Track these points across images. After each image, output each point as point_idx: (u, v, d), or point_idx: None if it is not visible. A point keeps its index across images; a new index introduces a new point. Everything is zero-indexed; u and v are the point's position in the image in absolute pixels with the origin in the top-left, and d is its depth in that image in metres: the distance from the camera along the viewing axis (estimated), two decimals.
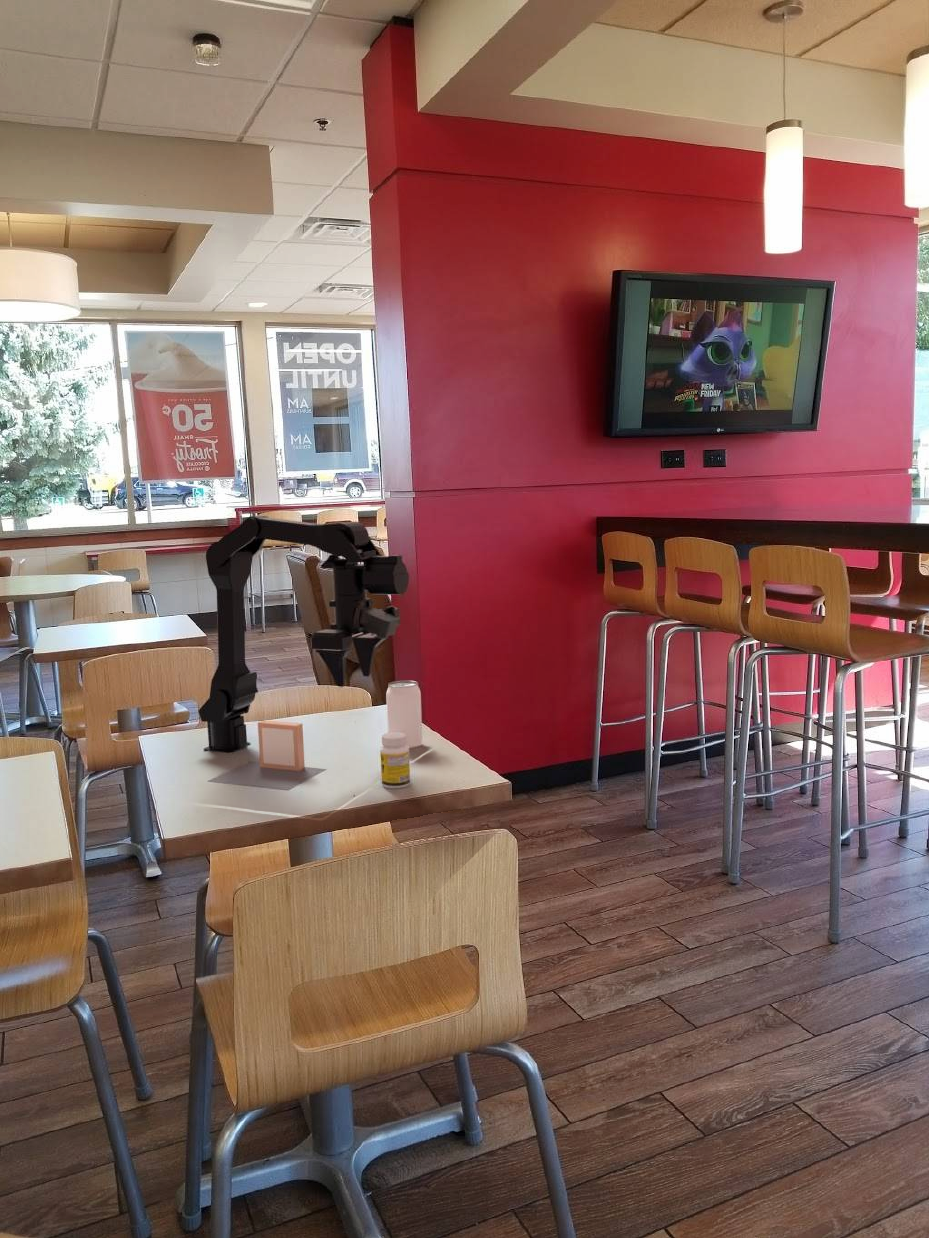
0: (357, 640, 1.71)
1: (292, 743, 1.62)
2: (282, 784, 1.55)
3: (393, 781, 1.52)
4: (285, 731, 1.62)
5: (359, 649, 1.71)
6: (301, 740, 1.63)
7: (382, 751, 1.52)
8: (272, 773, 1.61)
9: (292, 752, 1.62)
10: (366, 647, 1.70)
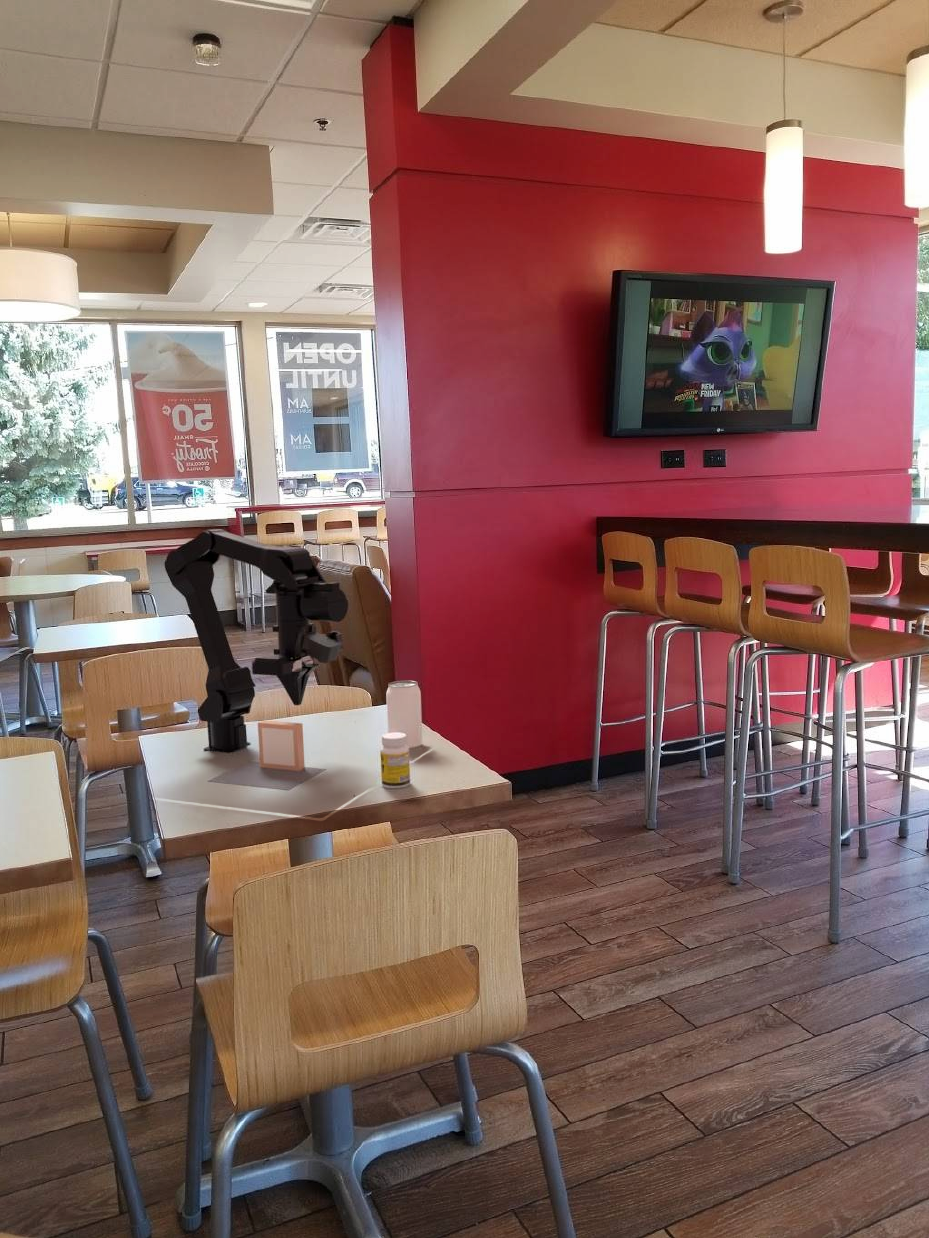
0: None
1: (292, 743, 1.62)
2: (282, 784, 1.55)
3: (393, 781, 1.52)
4: (285, 731, 1.62)
5: None
6: (301, 740, 1.63)
7: (382, 751, 1.52)
8: (272, 773, 1.61)
9: (292, 752, 1.62)
10: None
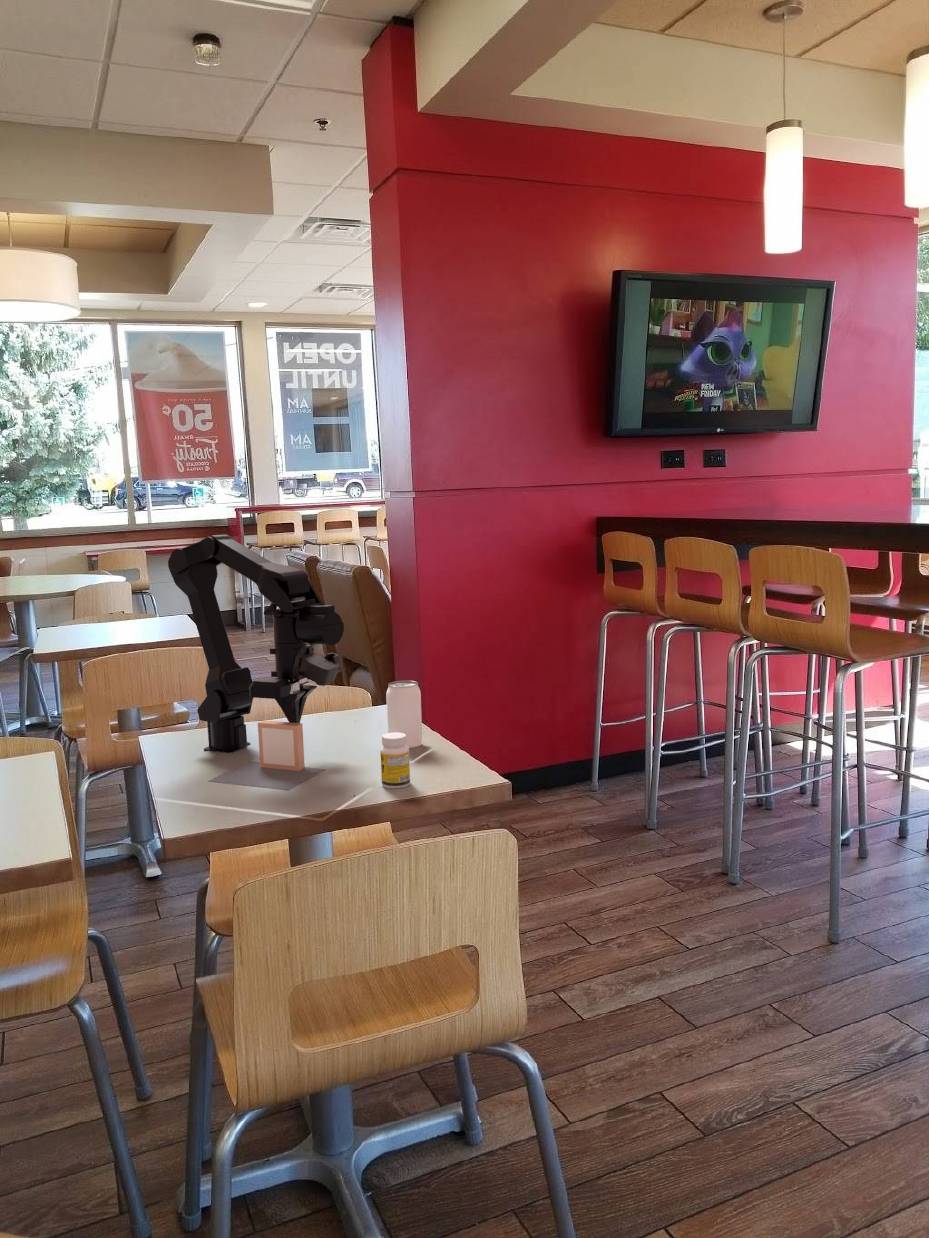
0: None
1: (292, 743, 1.62)
2: (282, 784, 1.55)
3: (393, 781, 1.52)
4: (285, 731, 1.62)
5: None
6: (301, 740, 1.63)
7: (382, 751, 1.52)
8: (272, 773, 1.61)
9: (292, 752, 1.62)
10: None
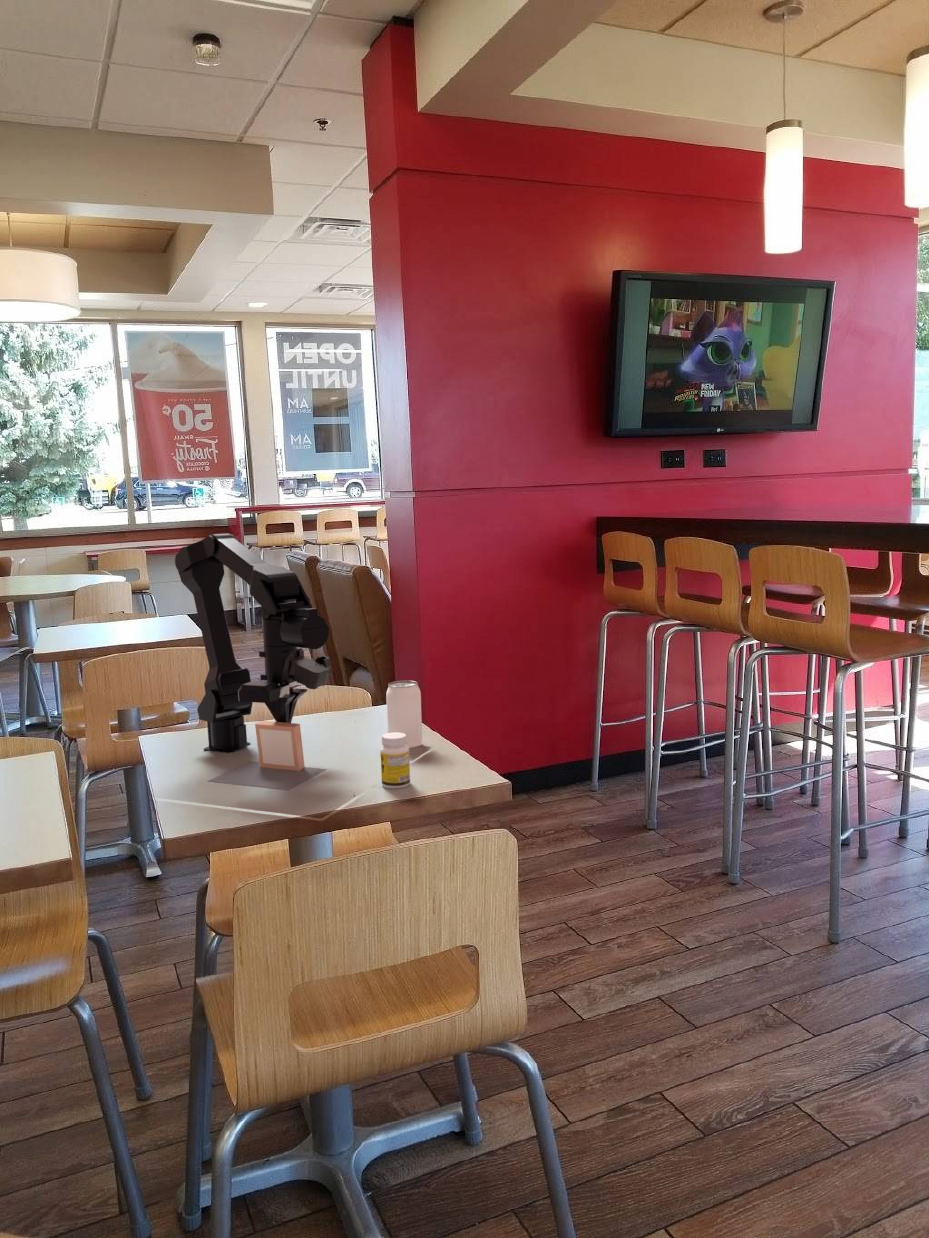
0: None
1: (290, 744, 1.62)
2: (282, 784, 1.55)
3: (393, 781, 1.52)
4: (283, 732, 1.62)
5: None
6: (299, 740, 1.62)
7: (382, 751, 1.52)
8: (272, 773, 1.61)
9: (291, 753, 1.62)
10: None
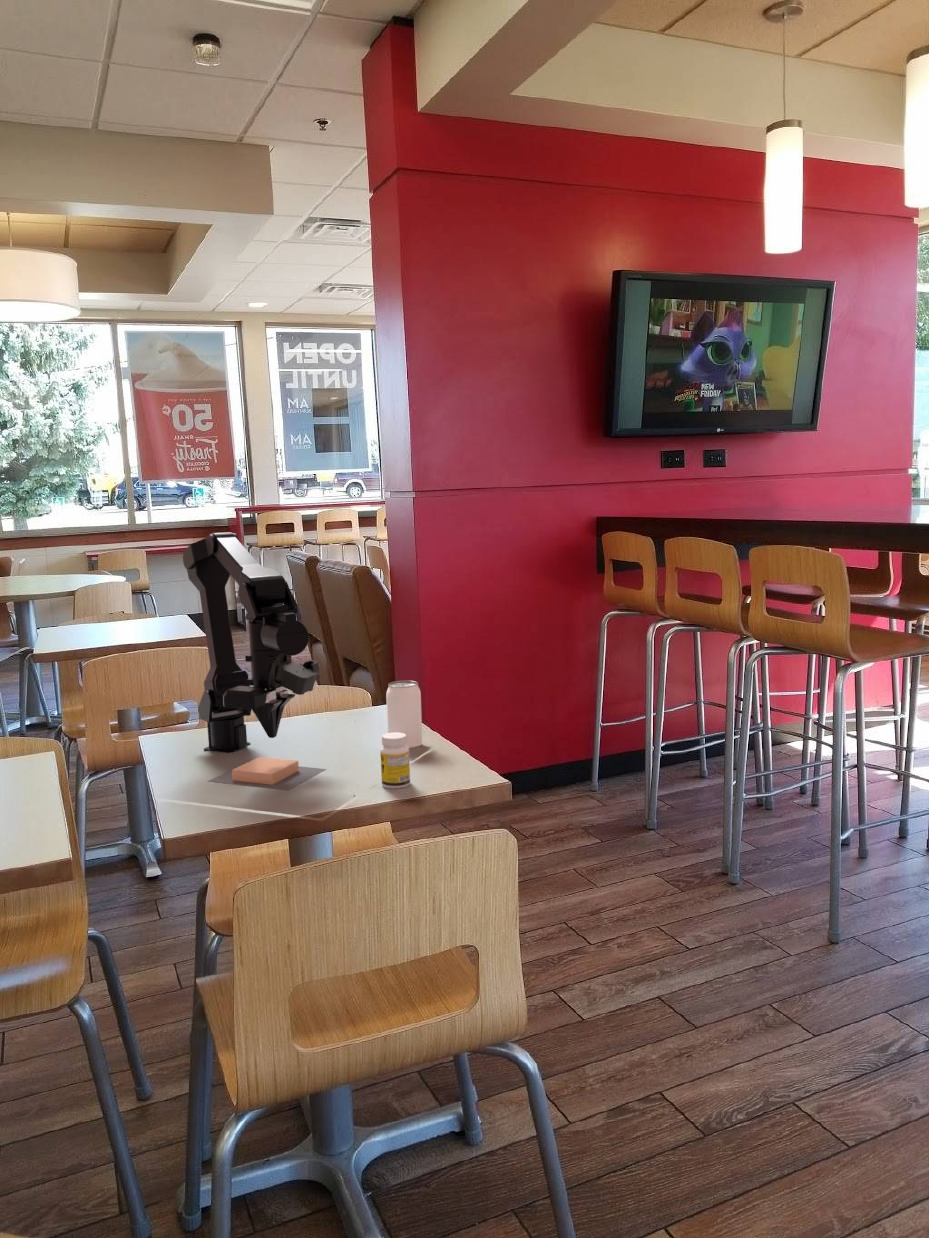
0: None
1: None
2: (282, 784, 1.55)
3: (393, 781, 1.52)
4: None
5: None
6: (281, 772, 1.57)
7: (382, 751, 1.52)
8: None
9: None
10: None
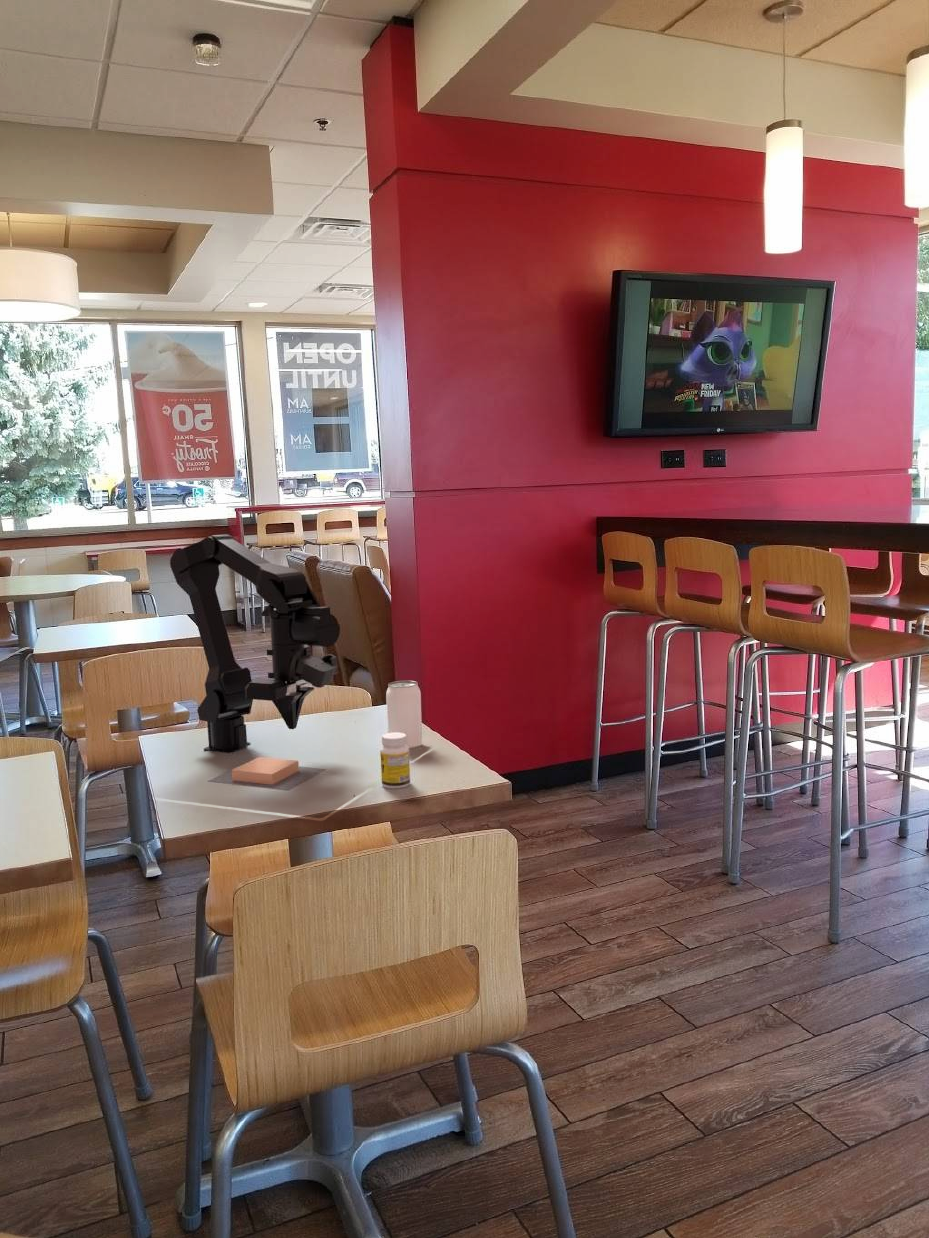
0: None
1: None
2: (282, 784, 1.55)
3: (393, 781, 1.52)
4: None
5: None
6: (281, 772, 1.57)
7: (382, 751, 1.52)
8: None
9: None
10: None
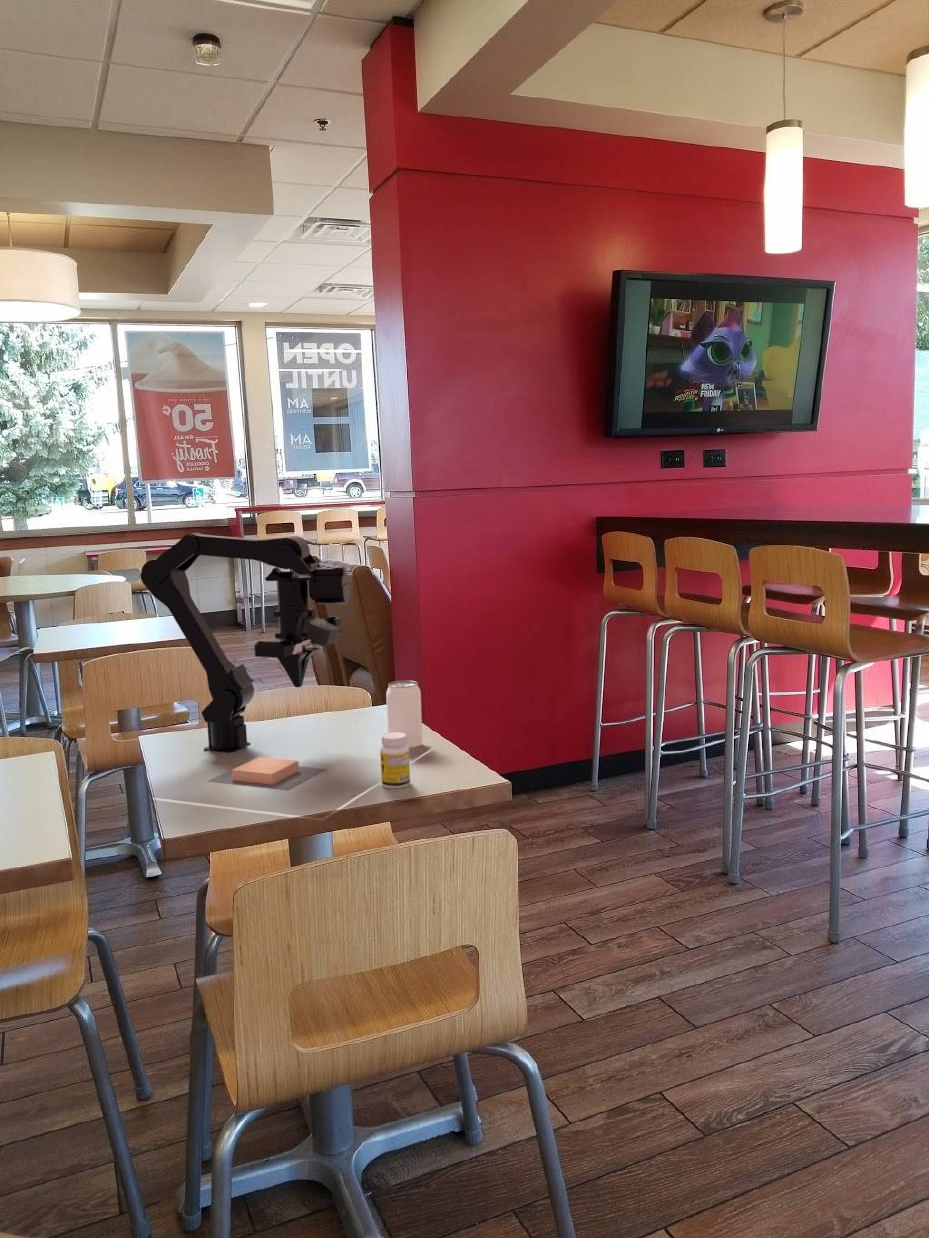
0: None
1: None
2: (282, 784, 1.55)
3: (393, 781, 1.52)
4: None
5: None
6: (281, 772, 1.57)
7: (382, 751, 1.52)
8: None
9: None
10: None
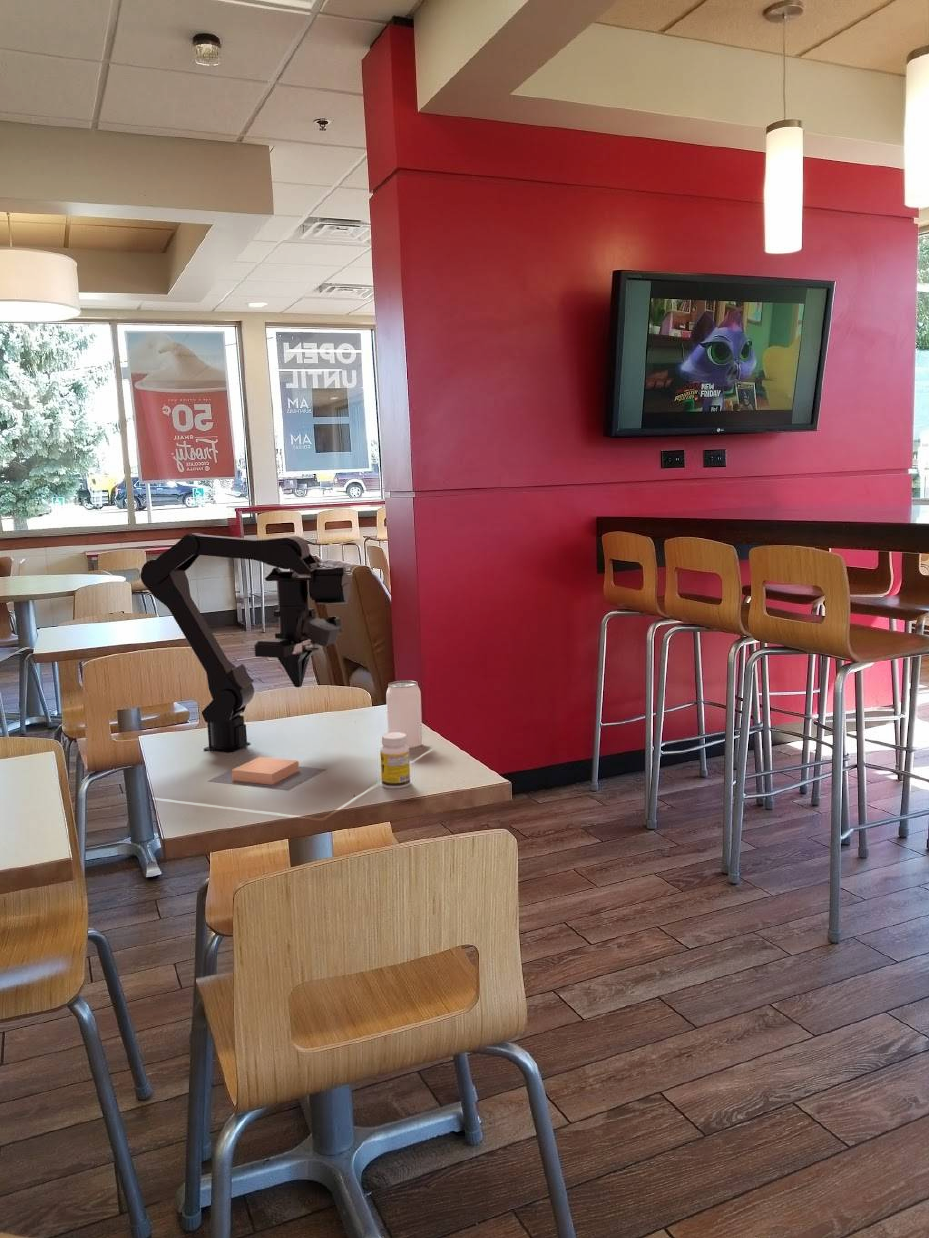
0: None
1: None
2: (282, 784, 1.55)
3: (393, 781, 1.52)
4: None
5: None
6: (281, 772, 1.57)
7: (382, 751, 1.52)
8: None
9: None
10: None
